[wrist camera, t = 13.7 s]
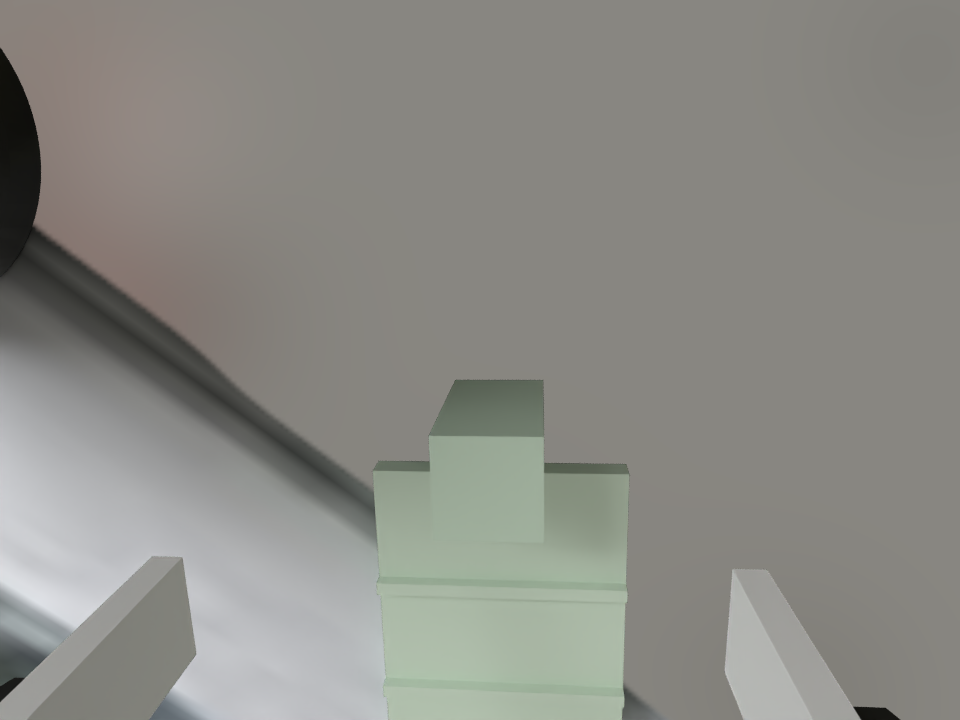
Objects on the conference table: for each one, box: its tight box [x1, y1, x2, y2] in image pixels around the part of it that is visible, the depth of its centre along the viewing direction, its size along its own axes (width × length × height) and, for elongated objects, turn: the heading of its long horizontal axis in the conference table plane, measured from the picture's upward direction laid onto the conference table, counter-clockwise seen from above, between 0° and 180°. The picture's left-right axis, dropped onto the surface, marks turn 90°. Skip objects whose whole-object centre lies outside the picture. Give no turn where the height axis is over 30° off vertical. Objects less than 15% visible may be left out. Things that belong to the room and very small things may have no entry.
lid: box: [373, 380, 630, 720], centre depth 29 cm, size 12×21×8 cm, turn 1°
